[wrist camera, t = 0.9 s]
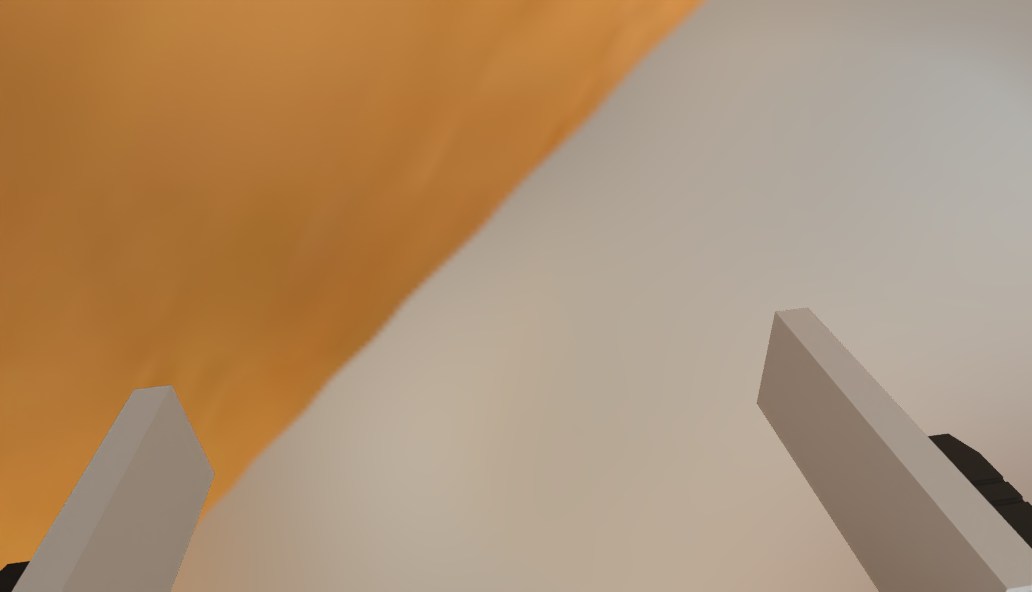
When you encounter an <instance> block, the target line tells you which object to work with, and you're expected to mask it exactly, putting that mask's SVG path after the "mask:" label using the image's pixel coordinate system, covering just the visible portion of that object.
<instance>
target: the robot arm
mask: <svg viewBox="0 0 1032 592" xmlns="http://www.w3.org/2000/svg"><path fill="white" fill-rule="evenodd" d="M757 404H758V406H759V407H760V409H761V410H762V412H763V413H764V415H765V417H766V418H767V420H768V421H769V423H770V424H771V426H772V427H773V429H774V430H775V432H776V434H777V435H778V437H779V438H780V440H781V441H782V443H783V444H784V446H785V447H786V449H787V451H788V452H789V454H790V455H791V457H792V458H793V460H794V461H795V463H796V464H797V466H798V468H799V469H800V471H801V472H802V474H803V475H804V477H805V478H806V480H807V481H808V483H809V485H810V486H811V487H812V489H813V491H814V492H815V494H816V495H817V497H818V498H819V500H820V501H821V503H822V505H823V506H824V508H825V509H826V511H827V512H828V514H829V515H830V517H831V518H832V520H833V522H834V523H835V525H836V526H837V528H838V529H839V531H840V532H841V534H842V535H843V537H844V538H845V540H846V542H847V543H848V545H849V546H850V548H851V549H852V551H853V552H854V554H855V555H856V557H857V559H858V560H859V562H860V563H861V565H862V566H863V568H864V569H865V571H866V572H867V574H868V575H869V577H870V579H871V580H872V582H873V583H874V585H875V586H876V588H877V589H878V591H879V592H1032V505H1030V503H1029V502H1024V501H1023V499H1022V496H1021V494H1020V493H1019V492H1018V491H1017V490H1016V489H1015V488H1014V487H1013V486H1012V485H1010V483H1009V482H1005V481H1004V480H1003V476H1002V475H1001V474H1000V473H999V472H998V471H997V470H996V469H995V468H994V467H993V466H992V465H991V464H990V463H989V462H988V461H987V460H986V459H985V458H984V457H983V456H982V455H981V454H980V453H979V452H977V451H975V450H974V449H972V448H970V447H969V446H967V445H966V444H964V443H962V442H961V441H959V440H958V439H956V438H954V437H953V436H951V435H950V434H942V435H934V436H927V435H926V434H925V433H924V432H923V431H922V430H921V429H920V428H919V427H918V426H917V424H916V423H915V422H914V421H913V420H912V419H911V418H910V417H909V416H908V415H907V414H906V413H905V411H904V410H903V409H902V408H901V407H900V406H899V405H898V404H897V403H896V402H895V401H894V400H893V399H892V397H891V396H890V395H889V394H888V393H887V392H886V391H885V390H884V389H883V388H882V387H881V386H880V385H879V383H878V382H877V381H876V380H875V379H874V378H873V377H872V376H871V375H870V374H869V373H868V372H867V371H866V369H865V368H864V367H863V366H862V365H861V364H860V363H859V362H858V361H857V360H856V359H855V358H854V357H853V356H852V354H851V353H850V352H849V351H848V350H847V349H846V348H845V347H844V346H843V345H842V344H841V342H840V341H839V340H838V339H837V338H836V337H835V336H834V335H833V334H832V333H831V332H830V331H829V329H828V328H827V327H826V326H825V325H824V324H823V323H822V322H821V321H820V320H819V319H818V318H817V317H816V315H814V313H813V312H812V311H811V310H810V309H809V308H801V309H793V310H785V311H776V312H775V315H774V321H773V325H772V330H771V335H770V340H769V345H768V350H767V355H766V360H765V365H764V370H763V375H762V380H761V385H760V390H759V395H758V400H757ZM214 475H215V474H214V472H213V470H212V467H211V465H210V463H209V461H208V459H207V457H206V455H205V453H204V451H203V449H202V447H201V445H200V443H199V441H198V439H197V436H196V434H195V432H194V430H193V428H192V426H191V424H190V422H189V420H188V418H187V416H186V414H185V412H184V410H183V408H182V405H181V403H180V401H179V399H178V397H177V395H176V393H175V391H174V389H173V387H172V385H167V386H159V387H151V388H143V389H134V390H133V392H132V394H131V395H130V397H129V399H128V400H127V402H126V404H125V405H124V407H123V409H122V410H121V412H120V413H119V415H118V417H117V418H116V420H115V422H114V423H113V425H112V427H111V428H110V430H109V432H108V433H107V435H106V437H105V438H104V440H103V442H102V443H101V445H100V447H99V448H98V450H97V451H96V453H95V455H94V456H93V458H92V460H91V461H90V463H89V465H88V466H87V468H86V470H85V471H84V473H83V475H82V476H81V478H80V480H79V481H78V483H77V485H76V486H75V488H74V490H73V491H72V493H71V494H70V496H69V498H68V499H67V501H66V503H65V504H64V506H63V508H62V509H61V511H60V513H59V514H58V516H57V518H56V519H55V521H54V523H53V524H52V526H51V528H50V529H49V531H48V533H47V534H46V536H45V537H44V539H43V541H42V542H41V544H40V546H39V547H38V549H37V551H36V552H35V554H34V556H33V557H32V559H31V561H27V562H20V563H13V564H7V565H6V566H5V567H4V568H3V569H2V570H1V571H0V592H171V589H172V587H173V584H174V582H175V579H176V576H177V574H178V571H179V568H180V566H181V563H182V560H183V557H184V555H185V552H186V550H187V547H188V544H189V542H190V539H191V536H192V534H193V531H194V528H195V526H196V523H197V520H198V518H199V515H200V512H201V510H202V507H203V504H204V502H205V499H206V496H207V494H208V491H209V488H210V486H211V483H212V480H213V478H214Z"/></svg>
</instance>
